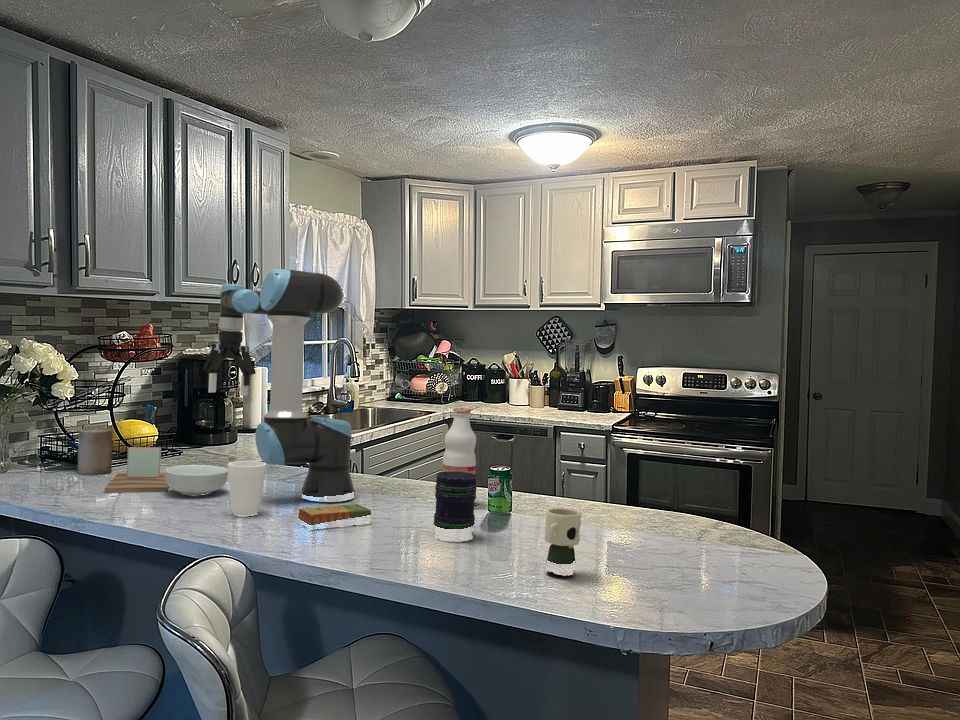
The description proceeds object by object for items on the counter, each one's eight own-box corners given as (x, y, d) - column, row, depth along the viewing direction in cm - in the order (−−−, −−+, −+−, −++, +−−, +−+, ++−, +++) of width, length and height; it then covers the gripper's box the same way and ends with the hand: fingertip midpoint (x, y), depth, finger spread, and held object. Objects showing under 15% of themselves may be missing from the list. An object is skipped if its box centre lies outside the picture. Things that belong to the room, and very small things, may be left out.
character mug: (564, 585, 140) (568, 519, 140) (532, 577, 144) (535, 513, 144) (587, 572, 149) (590, 510, 149) (556, 565, 153) (559, 504, 153)
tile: (159, 477, 218) (160, 448, 217) (126, 478, 215) (127, 448, 215) (159, 476, 219) (161, 447, 219) (127, 477, 216) (128, 447, 216)
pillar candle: (114, 469, 233) (116, 423, 233) (107, 475, 224) (109, 427, 223) (81, 470, 231) (83, 423, 230) (73, 475, 221) (74, 427, 221)
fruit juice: (436, 502, 208) (441, 407, 208) (467, 502, 211) (472, 407, 211) (446, 510, 199) (451, 410, 199) (478, 509, 203) (483, 410, 202)
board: (166, 491, 205) (167, 487, 204) (104, 492, 199) (104, 488, 199) (173, 476, 227) (174, 472, 227) (118, 476, 222) (118, 472, 222)
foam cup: (224, 519, 177) (226, 466, 177) (226, 510, 186) (229, 460, 186) (263, 518, 180) (266, 467, 180) (264, 510, 189) (267, 461, 188)
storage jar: (481, 536, 173) (484, 475, 173) (460, 545, 165) (463, 480, 164) (447, 529, 178) (450, 469, 178) (424, 537, 170) (427, 474, 169)
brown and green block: (297, 524, 177) (298, 507, 177) (357, 518, 186) (357, 502, 186) (310, 532, 170) (311, 514, 170) (371, 525, 179) (372, 508, 179)
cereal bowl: (199, 502, 194) (200, 476, 193) (150, 495, 199) (151, 470, 199) (239, 491, 210) (240, 467, 210) (193, 485, 215) (194, 462, 215)
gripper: (268, 332, 238) (265, 396, 238) (210, 329, 247) (207, 390, 248) (253, 331, 231) (249, 397, 231) (194, 328, 240) (190, 391, 241)
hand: (227, 394), depth 239 cm, fingers open, 13 cm apart
